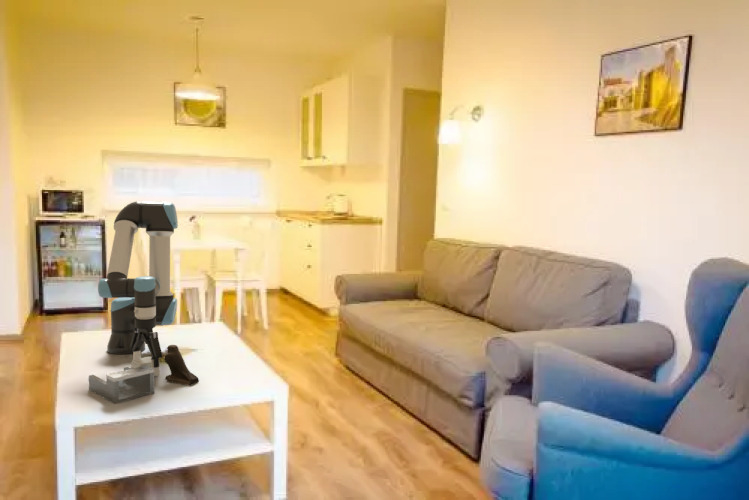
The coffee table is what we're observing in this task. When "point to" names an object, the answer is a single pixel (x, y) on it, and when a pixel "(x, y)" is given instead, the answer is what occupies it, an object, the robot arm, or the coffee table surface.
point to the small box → (143, 362)
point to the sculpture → (178, 368)
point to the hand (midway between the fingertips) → (146, 371)
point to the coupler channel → (124, 384)
